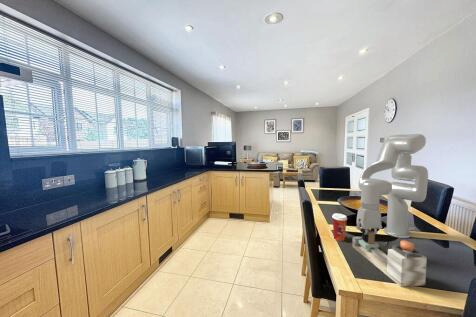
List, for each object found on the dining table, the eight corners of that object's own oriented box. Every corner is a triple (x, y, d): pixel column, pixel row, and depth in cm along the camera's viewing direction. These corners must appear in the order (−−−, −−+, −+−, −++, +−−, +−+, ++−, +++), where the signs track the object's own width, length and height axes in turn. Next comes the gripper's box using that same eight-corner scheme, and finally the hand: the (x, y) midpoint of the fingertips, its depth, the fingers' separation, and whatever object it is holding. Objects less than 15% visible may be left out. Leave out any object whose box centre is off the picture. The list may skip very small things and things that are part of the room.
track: (370, 245, 101) (371, 222, 100) (425, 285, 73) (427, 253, 72) (352, 246, 101) (353, 223, 100) (400, 286, 72) (402, 254, 71)
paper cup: (341, 243, 104) (341, 219, 103) (328, 237, 111) (329, 214, 110) (349, 239, 108) (350, 216, 107) (337, 234, 115) (337, 212, 114)
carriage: (371, 245, 99) (371, 228, 98) (378, 250, 94) (379, 232, 93) (358, 245, 98) (358, 228, 97) (365, 251, 93) (365, 233, 92)
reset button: (406, 245, 77) (407, 240, 77) (416, 251, 73) (416, 245, 73) (397, 246, 77) (397, 240, 77) (406, 251, 73) (407, 245, 73)
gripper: (379, 202, 98) (378, 236, 100) (349, 204, 97) (348, 237, 99) (391, 207, 91) (390, 244, 92) (359, 209, 90) (358, 245, 91)
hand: (368, 240), depth 96 cm, fingers closed on carriage, 3 cm apart
